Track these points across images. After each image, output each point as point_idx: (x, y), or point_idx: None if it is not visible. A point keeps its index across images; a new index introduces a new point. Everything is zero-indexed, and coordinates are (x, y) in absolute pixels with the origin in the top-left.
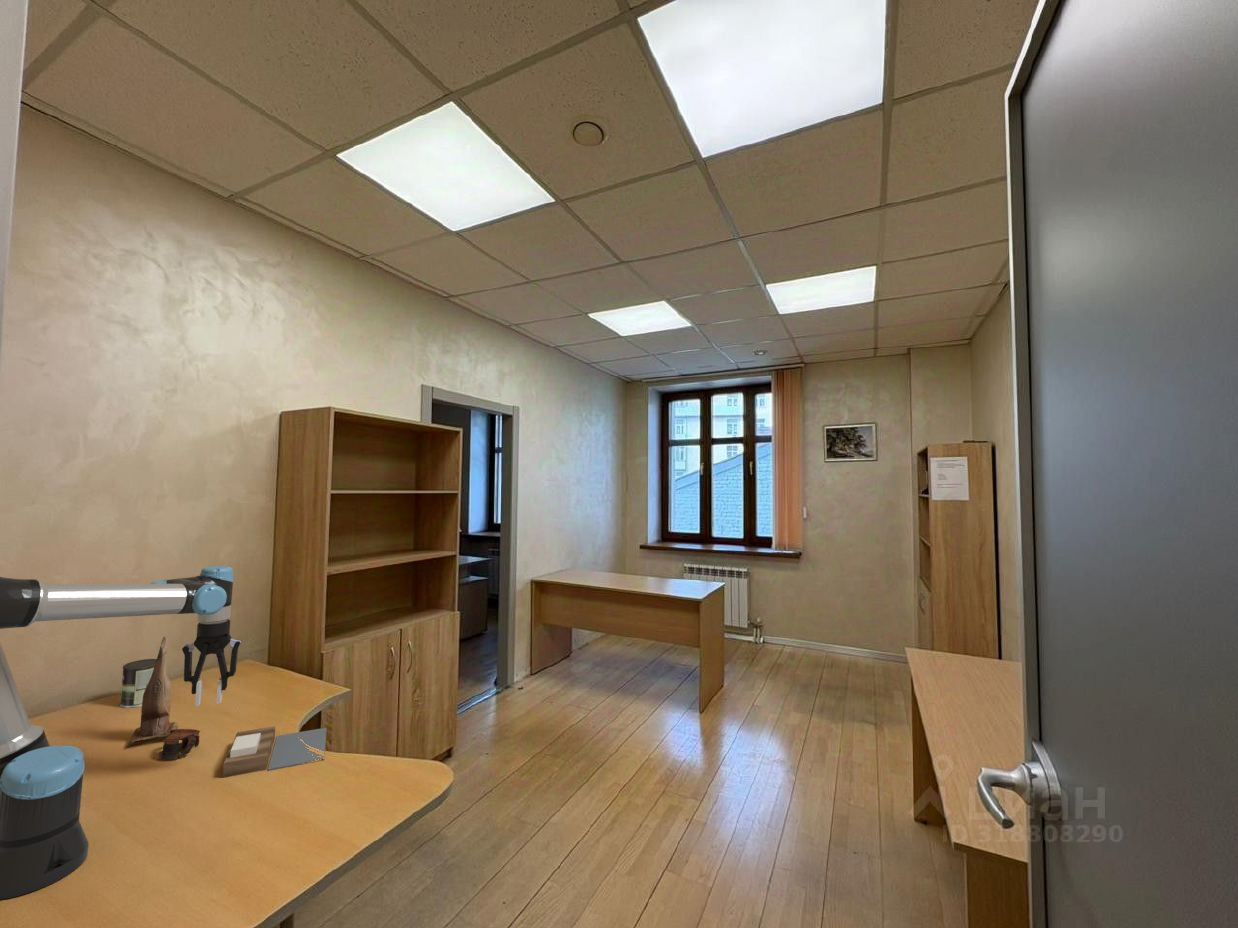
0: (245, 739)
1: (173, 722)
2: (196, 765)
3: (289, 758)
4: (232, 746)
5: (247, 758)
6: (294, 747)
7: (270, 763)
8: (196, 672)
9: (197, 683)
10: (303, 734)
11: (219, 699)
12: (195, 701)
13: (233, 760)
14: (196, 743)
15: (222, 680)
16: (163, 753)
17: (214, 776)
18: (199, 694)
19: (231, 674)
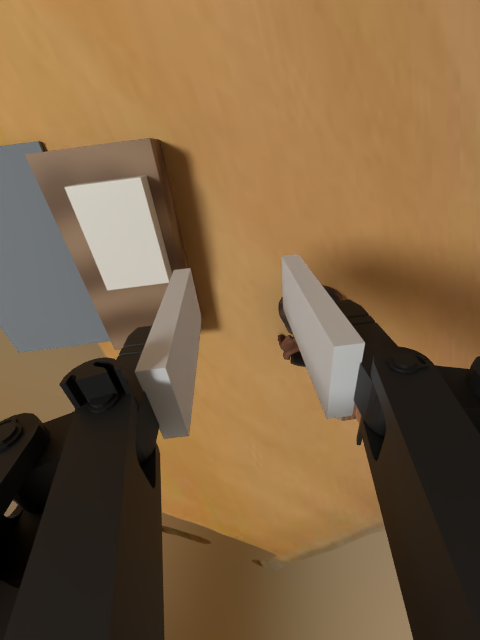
0: (132, 256)
1: (343, 418)
2: (254, 244)
3: (11, 200)
4: (150, 212)
5: (83, 148)
6: (39, 267)
7: None
8: (469, 467)
9: (355, 339)
10: (58, 331)
11: (172, 278)
12: (306, 265)
13: (125, 148)
14: (283, 339)
15: (138, 381)
16: (336, 298)
17: (186, 158)
18: (299, 294)
19: (2, 430)
